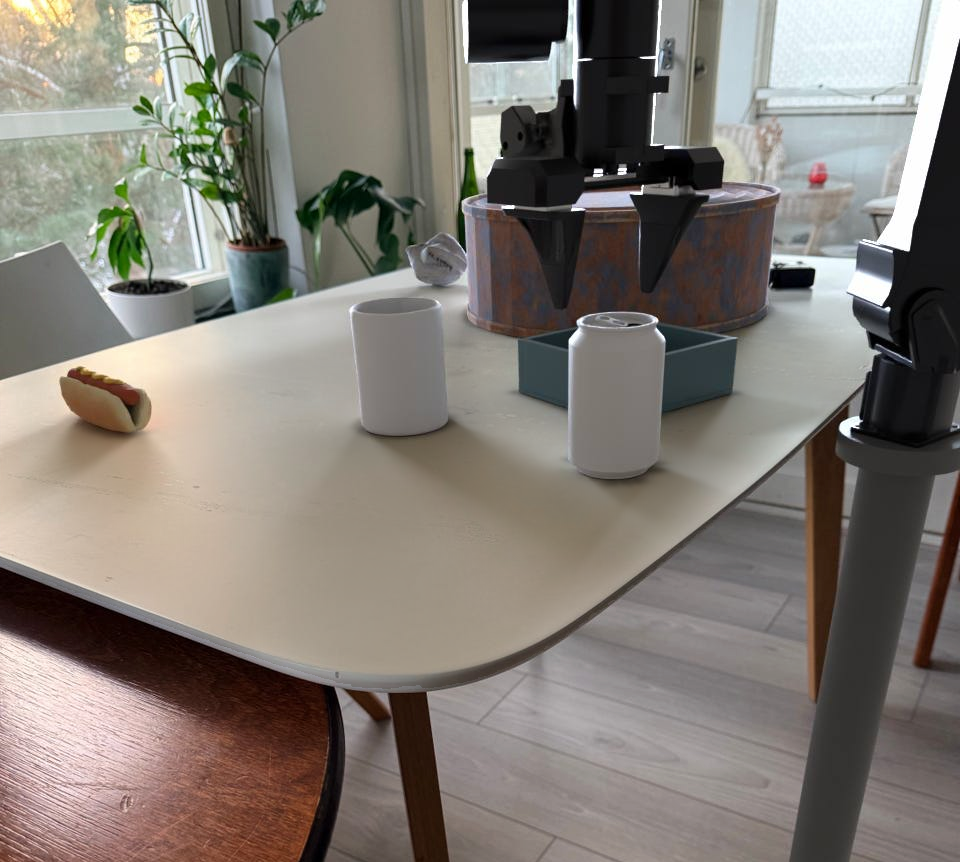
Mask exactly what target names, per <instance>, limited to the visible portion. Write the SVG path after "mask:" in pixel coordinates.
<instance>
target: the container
mask: <svg viewBox="0 0 960 862" xmlns="http://www.w3.org/2000/svg"><path fill="white" fill-rule="evenodd" d="M640 192H642V187H638V186H631V187H622V188H612V189H602V190H592V191H584V192H583V193H582V195H581V196H580V198H579V200H578V201H577V203H576V204H573V205H572V208H576V209H586V214H585V220H584V225H583V231H582V237H581V242H580V248H579V254H578V259H577V265H576V271H575V277H574V282H573V288H572V292H571V296H570V300H569V304H568V307H567V309H566V310H558V309H555V308H554V306H553V303H552V300H551V297H550V294H549V291H548V288H547V284H546V281H545V278H544V275H543V272H542V269H541V266H540V262H539V260H538V257H537V254H536V251H535V249H534V246H533V244H532V242H531V239H530V237H529V235H528V233H527V232H526V230H525V229H524V228H523V227H522V226H521V224H520V223H519V222H518V221H517V220H516V219H515V218H514V217H510V216H505V215H504V213H503V211H502V207H508V206H513V205H502V204H491V203H487V192H486V193H480V194H475V195H473V196H469V197H465V199H463V200H461V211H462V213H463V215H464V228H465V230H464V231H465V251H466V252H465V254H466V256H467V268H466V270H467V271H466V272H467V293H468V294H467V295H468V296H467V297H468V303H467V304H466V316H467V318H468V321H469V322H471V323H472V324H473V325H475V326H476V327H478V328H481V329H484V330H486V331H489V332H492V333H497V334H502V335H506V336H510V337H517V338H526V337H530V336H535V335H540V334H545V333H550V332H554V331H559V330H564V329H569V328H574V327H578V325H577V320H578V319H580V318H581V317H584V316H587V315H592V314H597V313H607V312H635V313H644V314H648V315H652V316H654V317H656V318H657V319H658V322H661V323H666V324H671V325H676V326H681V327H686V328H691V329H696V330H701V331H706V332H711V333H716V334H721V333H723V332H728V331H732V330H736V329H740V328H744V327H746V326H749V325H751V324H754V323H755V322H756V323H757V322H758V321H760V320H762V318H764V317H765V316H766V315H767V314H768V310H769V306H770V305H769V304H770V299H769V297H768V291H769V283H770V273H771V264H772V256H773V255H772V254H773V247H774V237H775V227H776V219H777V211H778V204H780V201H781V198H782V188H780V187H777V186H775V185H769V184H764V183H756V182H747V181H746V182H744V181H733V180H731V181H727V180H723V181H722V188H718V189H709V190H700V191H698V190H696V194H709V195H710V199H709V202H707V203H703V204H702V206H701V207H700V209H699V211H698V212H697V214H696V216H695V217H694V219H693V220H692V222H691V224H690V225H689V227H688V229H687V230H686V232H685V234H684V235H683V237H682V239H681V241H680V242H679V244H678V246H677V248H676V250H675V252H674V254H673V256H672V257H671V259H670V261H669V263H668V265H667V267H666V269H665V271H664V273H663V275H662V277H661V279H660V280H659V282H658V284H657V286H656V288H655V290H654V292H653V293H651V294H646V293H642V292H641V291H640V280H639V249H640V217H639V214H638V212H637V210H636V208H635V206H634V204H633V202H632V200H631V198H630V195H629V194H630V193H640Z"/></svg>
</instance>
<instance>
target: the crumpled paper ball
mask: <svg viewBox="0 0 960 862" xmlns="http://www.w3.org/2000/svg"><path fill="white" fill-rule="evenodd" d="M462 247H463V246H461V245H460V243H459V241H458V240H456V238H455V237H453V236H452V235H451V234H450V233H448V232H443V231H441V232H439V233H438V234H436V235H434V237H432V238H430V239H428V241H426V242H423V241H422V242H419V243H417V244H414V245H408V246H406V248H405V253H406V254H407V256H408V260H409V263H410V266H411V268H412V271H413V275H414V277H415V278H416V279H417V280H418V281H419V282H422V283H424V284H428V285H434V286H445V285H451V284H454V283H455V282H457V281H458V280H459V279H460V278H461V276H462V275H464V273H465V272H466V270H467V253H466V252H465V249H463V248H462Z"/></svg>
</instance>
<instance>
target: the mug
mask: <svg viewBox="0 0 960 862" xmlns="http://www.w3.org/2000/svg"><path fill="white" fill-rule="evenodd" d="M349 316H350V317H349V318H350V327H351V336H352V345H353V353H354V354H353V355H354V363H355V371H356V372H355V373H356V380H357V381H356V382H357V390H358V391H357V392H358V400H359V410H360V411H359V412H360V421H361V425H362V428H363V429H364V430H365V431H367V432H369V433H372V434H374V435H380V436H387V437H388V436H389V437H405V436H406V437H407V436H415V435H421V434H426V433H430V432H434V431H437V430H438V429H441V428H442V427H444V426H445V425H446V424H447V423H448V421H449V402H448V390H447V376H446V361H445V345H444V343H445V342H444V329H443V327H444V326H443V312H442V304H441V302H440V301H439V300H437V299H434V298H429V297H420V296H400V297H399V296H398V297H397V296H396V297H395V296H394V297H385V298H384V297H383V298H377V299H376V298H375V299H371V300H365V301H361V302H359V303H355V304H353V305H352V306H351V307H350V309H349Z"/></svg>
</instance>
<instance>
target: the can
mask: <svg viewBox="0 0 960 862" xmlns="http://www.w3.org/2000/svg"><path fill="white" fill-rule="evenodd" d="M656 324H658V319H657V318H656V317H654V316H652V315H648V314H644V313H635V312H607V313H597V314H592V315H587V316H584V317H581V318H580V319H578V320H577V325H578V326H579V328H578V330H577V331H576V332H575V333H574V334H573V335H572V337H571V338H570V339H569V389H568V408H567V410H568V411H567V413H568V414H567V416H568V417H567V423H568V425H567V439H568V440H567V460H568V461H569V462H570V464H572V465H573V466H574V467H575V468H576V470H577V471H579V472H580V473H581V474H583V475H585V476H587V477H592V478H595V479H604V480H622V479H631V478H634V477H638V476H641V475H643V474H644V473H646V472H647V471H648V470H649V469H650V468H651V467H652V466H654V465H655V464H656V463H657V461H658V460H659V459H660V441H661V423H662V413H661V410H662V393H663V376H664V359H665V343H666V341H665V338H664V336H663V335H662V334H661V333H660V332H659V330H658V329H657V328H656Z"/></svg>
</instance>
